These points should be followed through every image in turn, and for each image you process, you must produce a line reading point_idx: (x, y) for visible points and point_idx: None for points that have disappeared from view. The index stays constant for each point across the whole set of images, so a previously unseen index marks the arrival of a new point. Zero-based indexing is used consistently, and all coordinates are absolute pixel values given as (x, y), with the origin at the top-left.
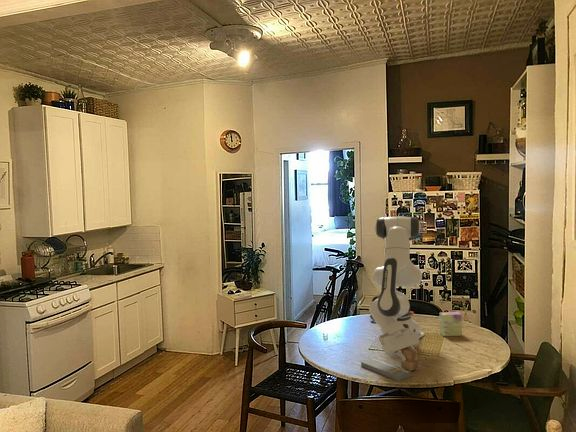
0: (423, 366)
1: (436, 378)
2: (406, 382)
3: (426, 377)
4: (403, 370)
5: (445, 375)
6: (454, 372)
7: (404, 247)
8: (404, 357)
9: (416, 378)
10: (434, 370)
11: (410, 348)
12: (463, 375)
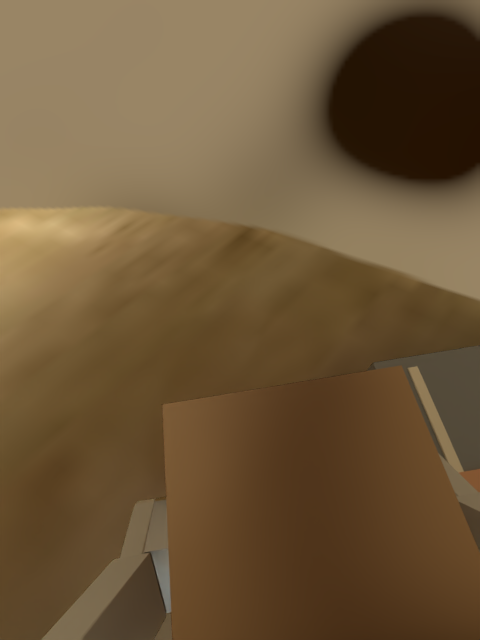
0: (83, 514)
1: (212, 264)
2: (462, 309)
3: (261, 305)
4: (440, 421)
5: (119, 270)
6: (23, 277)
7: None
8: (450, 468)
9: (344, 327)
10: (95, 375)
11: (205, 614)
12: (33, 224)
